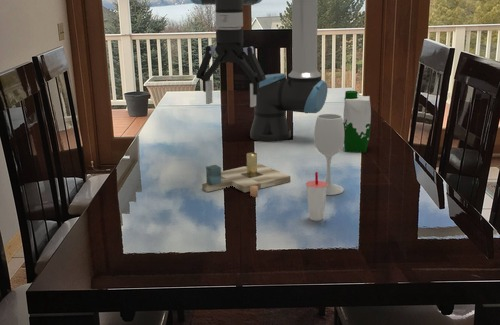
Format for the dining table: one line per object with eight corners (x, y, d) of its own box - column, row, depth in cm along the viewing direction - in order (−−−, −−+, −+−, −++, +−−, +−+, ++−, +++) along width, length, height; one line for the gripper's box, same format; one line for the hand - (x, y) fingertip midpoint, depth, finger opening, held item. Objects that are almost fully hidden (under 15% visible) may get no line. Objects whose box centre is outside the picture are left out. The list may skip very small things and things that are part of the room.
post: (245, 179, 182) (244, 153, 179) (253, 177, 183) (253, 152, 181) (250, 182, 179) (250, 156, 177) (259, 180, 181) (258, 154, 178)
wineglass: (346, 186, 174) (348, 113, 168) (340, 196, 166) (342, 120, 160) (316, 183, 177) (317, 112, 171) (309, 193, 169) (310, 118, 163)
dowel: (249, 195, 168) (248, 186, 168) (255, 194, 170) (254, 185, 169) (253, 197, 167) (252, 188, 166) (259, 196, 168) (259, 187, 167)
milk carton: (343, 145, 216) (344, 89, 210) (369, 146, 214) (371, 89, 208) (341, 152, 208) (343, 93, 202) (369, 153, 206) (371, 94, 200)
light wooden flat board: (191, 183, 179) (190, 162, 177) (259, 168, 192) (258, 148, 190) (219, 198, 166) (219, 175, 164) (290, 181, 179) (290, 160, 177)
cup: (311, 223, 149) (312, 176, 145) (301, 216, 153) (301, 170, 150) (331, 220, 151) (332, 173, 147) (320, 212, 155) (321, 167, 152)
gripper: (182, 28, 170) (185, 104, 176) (267, 30, 161) (267, 109, 167) (194, 26, 177) (197, 99, 183) (276, 28, 168) (276, 104, 174)
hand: (230, 104), depth 175 cm, fingers open, 13 cm apart
